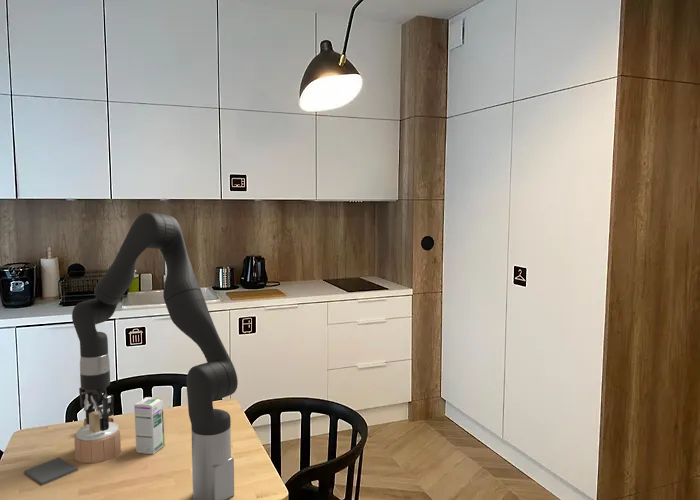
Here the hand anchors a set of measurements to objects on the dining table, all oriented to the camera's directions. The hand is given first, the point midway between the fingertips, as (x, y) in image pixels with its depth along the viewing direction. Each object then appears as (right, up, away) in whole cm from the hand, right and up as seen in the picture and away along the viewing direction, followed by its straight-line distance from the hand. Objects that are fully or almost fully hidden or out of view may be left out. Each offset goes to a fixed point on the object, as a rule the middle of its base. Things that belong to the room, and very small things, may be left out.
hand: (97, 426), depth 150 cm
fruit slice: (-6, -7, +13) cm, 16 cm away
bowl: (0, -8, +1) cm, 8 cm away
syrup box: (+14, -8, +3) cm, 16 cm away
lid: (0, -2, 0) cm, 2 cm away
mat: (-8, -9, -10) cm, 15 cm away
